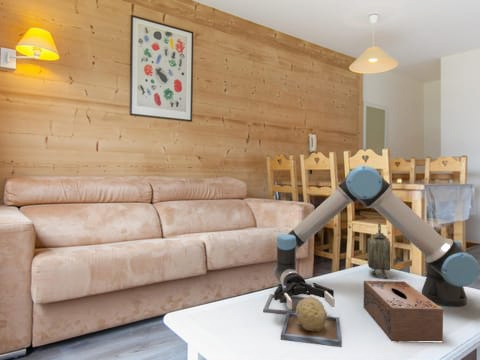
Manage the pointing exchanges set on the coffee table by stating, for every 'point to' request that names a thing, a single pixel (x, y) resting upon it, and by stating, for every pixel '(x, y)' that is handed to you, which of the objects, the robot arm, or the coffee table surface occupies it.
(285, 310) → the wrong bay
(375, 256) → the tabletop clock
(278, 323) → the coffee table surface
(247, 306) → the coffee table surface
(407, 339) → the tissue box cover
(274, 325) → the coffee table surface
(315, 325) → the coral
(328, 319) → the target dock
